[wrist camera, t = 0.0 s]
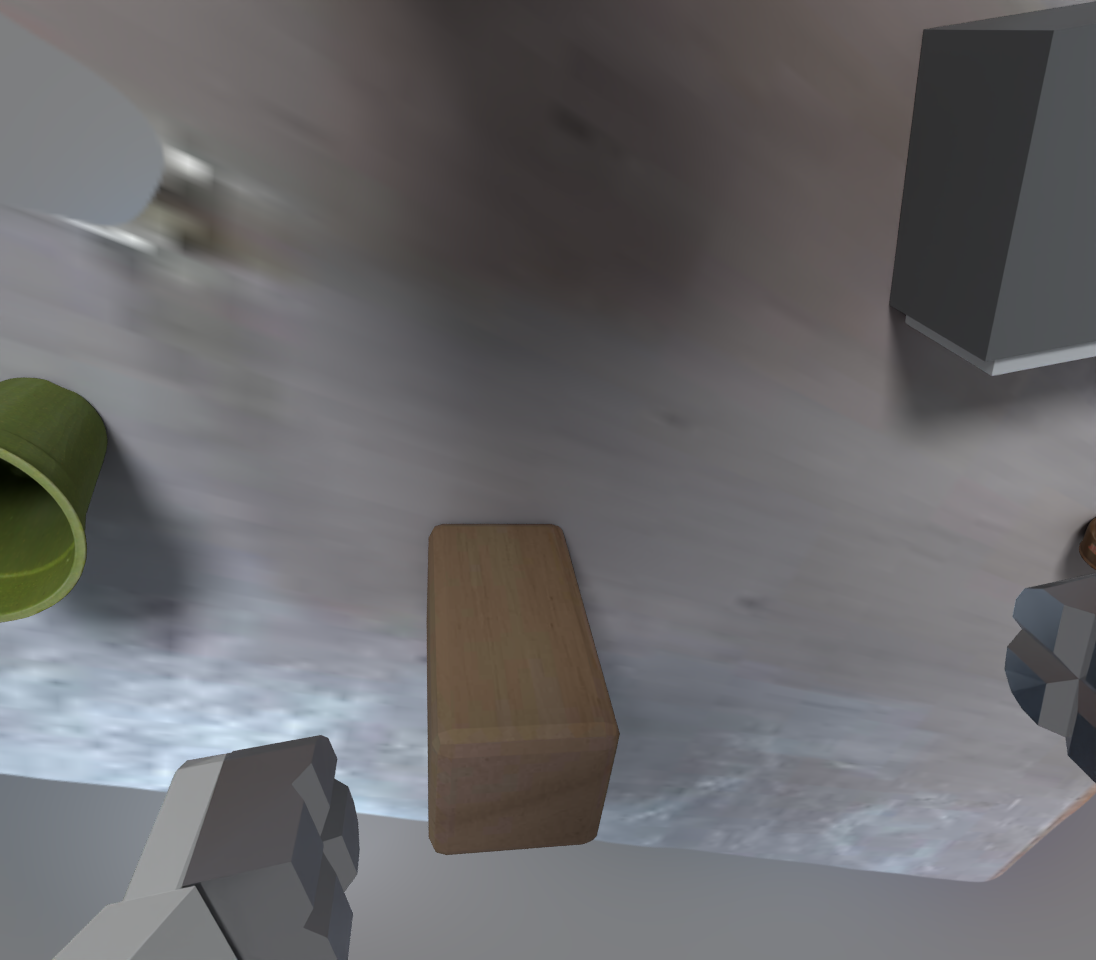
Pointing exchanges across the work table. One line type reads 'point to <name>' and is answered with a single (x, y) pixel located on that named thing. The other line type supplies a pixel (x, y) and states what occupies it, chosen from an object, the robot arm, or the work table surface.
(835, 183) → the work table surface
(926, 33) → the cabinet body
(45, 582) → the plant pot
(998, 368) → the door
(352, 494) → the work table surface
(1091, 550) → the tin
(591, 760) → the wooden block
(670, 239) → the work table surface
